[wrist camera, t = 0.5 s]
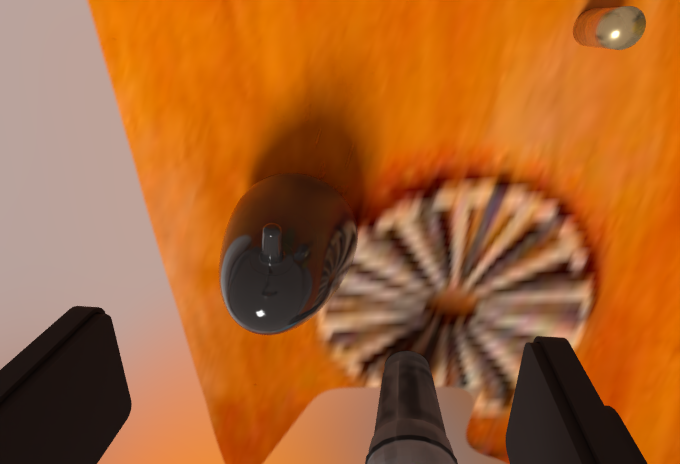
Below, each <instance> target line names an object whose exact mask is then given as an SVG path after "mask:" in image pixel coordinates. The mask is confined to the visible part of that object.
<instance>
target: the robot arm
mask: <svg viewBox="0 0 680 464" xmlns="http://www.w3.org/2000/svg"><path fill="white" fill-rule="evenodd" d="M130 411H131V398H130V394H129V391H128V386H127V382H126V377H125V373H124V369H123V365H122V361H121V357H120V353H119V348H118V345H117V340H116V336H115V332H114V328H113V324H112V319H111V317H110V316H109V315H107V314H105V311H104V310H103V309H102V308H99V307H84V306H76V307H72V308H71V309H69V310H68V311H67V312H66V313H65V314H64V315H63V316H61V317H60V318H59V319H58V320H57V321H56V322H55V323H54V324H52V325H51V326H50V327H49V328H48V329H47V330H45V331H44V332H43V333H42V334H41V335H40V336H39V337H37V338H36V339H35V340H34V341H33V342H32V343H31V344H29V345H28V346H27V347H26V348H25V349H24V350H23V351H21V352H20V353H19V354H18V355H17V356H16V357H15V358H13V360H11V361H10V362H9V363H8V364H7V365H5V366H4V367H3V368H2V369H1V370H0V464H97V463H98V461H99V460H100V458H101V457H102V455H103V454H104V452H105V451H106V450H107V448H108V447H109V445H110V444H111V442H112V441H113V439H114V438H115V436H116V435H117V433H118V432H119V430H120V429H121V427H122V426H123V424H124V423H125V421H126V420H127V418H128V416H129V414H130ZM506 449H507V454H508V457H509V461H510V464H647V462H646V460H645V459H644V457H643V455H642V454H641V452H640V450H639V448H638V447H637V445H636V443H635V442H634V440H633V438H632V436H631V435H630V433H629V431H628V430H627V428H626V426H625V424H624V423H623V421H622V419H621V418H620V416H619V415H618V413H617V412H616V411H615V409H613V408H612V407H610V406H604V404H603V402H602V401H601V399H600V397H599V395H598V393H597V392H596V390H595V388H594V386H593V385H592V383H591V381H590V379H589V377H588V376H587V374H586V372H585V370H584V368H583V367H582V365H581V363H580V361H579V360H578V358H577V356H576V354H575V352H574V351H573V349H572V347H571V345H570V343H569V342H568V341H567V339H565V338H557V337H542V336H537V337H536V338H535V339H534V342H533V343H526V344H525V347H524V351H523V356H522V361H521V365H520V370H519V375H518V380H517V384H516V389H515V394H514V399H513V403H512V408H511V413H510V418H509V422H508V427H507V432H506Z"/></svg>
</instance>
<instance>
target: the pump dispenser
mask: <svg viewBox="0 0 680 464" xmlns="http://www.w3.org/2000/svg"><path fill="white" fill-rule="evenodd" d="M357 241H358V230H357V224H356V220H355V217H354V214H353V212H352V210H351V208H350V206H349V204H348V203H347V201H346V200H345V199H344V198H343V196H342V195H341V194H340V193H339V192H338V191H337V190H335V189H334V188H333V187H332V186H330V185H329V184H327V183H325V182H324V181H322V180H320V179H317V178H315V177H312V176H309V175H305V174H298V173H283V174H277V175H273V176H270V177H267V178H265V179H263V180H261V181H259V182H257V183H256V184H254V185H253V186H252V187H251V188H250V189H249V190H248V191H247V192H246V193H245V194H244V195H243V196H242V197H241V199H240V200H239V202H238V203H237V205H236V207H235V209H234V211H233V213H232V215H231V217H230V220H229V222H228V225H227V228H226V231H225V235H224V238H223V243H222V248H221V255H220V263H219V284H220V291H221V295H222V299H223V302H224V304H225V306H226V308H227V310H228V312H229V314H230V315H231V317H232V318H233V319H234V320H235V322H236V323H238V324H239V325H240V326H241V327H243V328H244V329H246V330H248V331H250V332H252V333H256V334H260V335H276V334H281V333H284V332H287V331H290V330H293V329H295V328H297V327H299V326H300V325H302V324H303V323H305V322H306V321H308V320H309V319H310V318H312V317H313V316H314V315H315V314H316V313H317V312H318V311H319V310H320V309H321V308H322V307H323V306H324V305H325V304H326V303H327V302H328V301H329V299H330V298H331V297H332V296H333V294H334V293H335V292H336V290H337V289H338V288H339V286H340V285H341V283H342V281H343V280H344V278H345V276H346V274H347V272H348V270H349V268H350V266H351V264H352V262H353V259H354V256H355V252H356V248H357Z"/></svg>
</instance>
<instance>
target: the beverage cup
mask: <svg viewBox="0 0 680 464" xmlns="http://www.w3.org/2000/svg"><path fill="white" fill-rule="evenodd" d="M365 464H458V463H457V459H456V458H455V456H454V454H453V451H452V448H451V445H450V442H449V440H448V438H447V437H446V433H445V429H444V424H443V420H442V416H441V412H440V407H439V403H438V399H437V395H436V390H435V386H434V382H433V378H432V374H431V372H430V368H429V364H428V362H427V360H426V359H425V358H424V357H423V356H422V355H420V354H418V353H416V352H412V351H401V352H397V353H395V354H393V355H392V356H390V357H389V358H388V359H387V361H386V363H385V369H384V373H383V377H382V384H381V391H380V398H379V405H378V412H377V419H376V426H375V432H374V436H373V438H372V441H371V444H370V448H369V454H368V455H367V456H366V462H365Z"/></svg>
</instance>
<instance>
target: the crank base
mask: <svg viewBox="0 0 680 464" xmlns="http://www.w3.org/2000/svg"><path fill="white" fill-rule="evenodd" d="M645 26H646V20H645V16H644V14H643V13H642V11H641V10H639V9H638V8H636V7H632V6H625V7H612V8H599V9H590V10H587V11H585V12H584V13H582V14H581V15H580V16H579V17H578V19H577V20H576V22H575V24H574V28H573V35H574V38H575V40H576V41H577V42H578V43H579V44H581V45H583V46H590V47H598V48H607V49H616V50H622V49H626V48H629V47H631V46H632V45H634V44H635V43H636V42H637V41H638V40H639V39H640V38H641V36H642V35H643V33H644V30H645Z"/></svg>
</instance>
